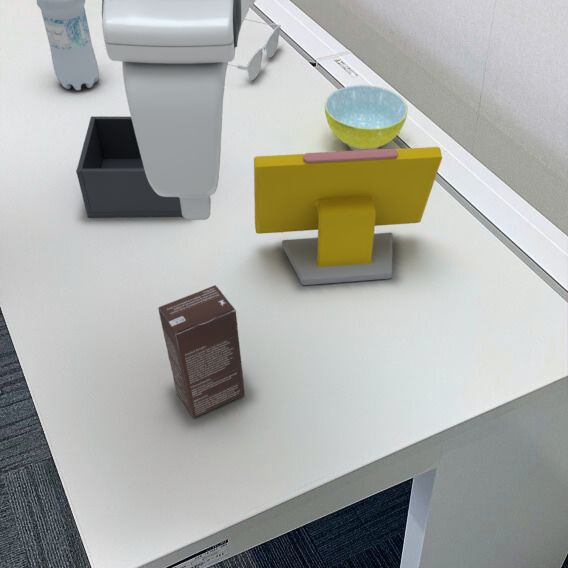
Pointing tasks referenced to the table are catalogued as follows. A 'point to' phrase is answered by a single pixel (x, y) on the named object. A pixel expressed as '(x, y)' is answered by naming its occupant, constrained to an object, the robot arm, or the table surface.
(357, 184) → the toy computer monitor
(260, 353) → the table surface
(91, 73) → the bottle
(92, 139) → the bin
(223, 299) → the box
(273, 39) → the eyeglasses
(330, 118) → the bowl
